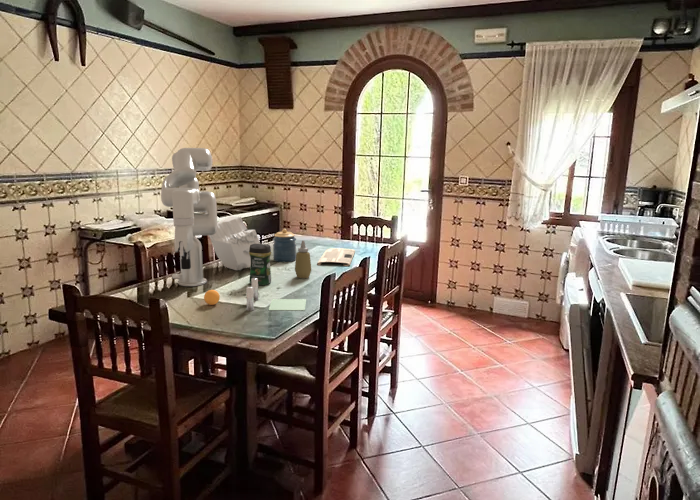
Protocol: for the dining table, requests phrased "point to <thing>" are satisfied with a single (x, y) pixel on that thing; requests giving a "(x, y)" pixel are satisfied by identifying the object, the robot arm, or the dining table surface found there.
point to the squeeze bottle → (303, 262)
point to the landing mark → (287, 304)
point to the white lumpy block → (233, 242)
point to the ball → (211, 297)
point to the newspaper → (337, 256)
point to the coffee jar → (260, 263)
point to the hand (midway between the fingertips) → (186, 268)
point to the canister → (284, 246)
